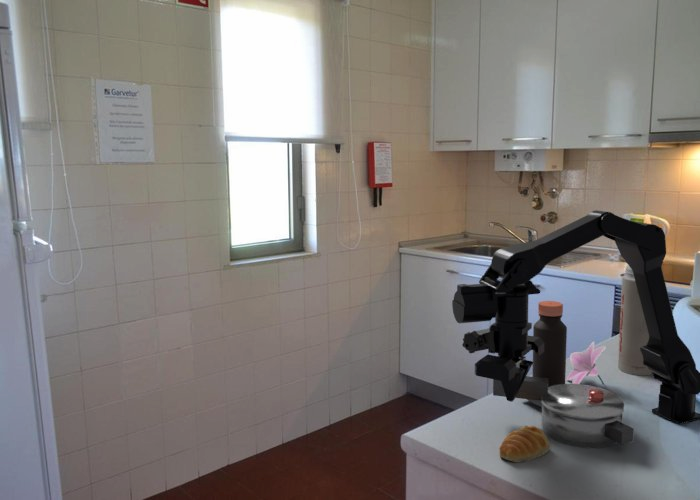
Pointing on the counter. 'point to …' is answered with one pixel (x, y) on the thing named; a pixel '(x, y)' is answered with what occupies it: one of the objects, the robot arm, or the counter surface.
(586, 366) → the lily
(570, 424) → the pot
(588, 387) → the lid
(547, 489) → the counter surface
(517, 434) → the pastry
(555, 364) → the vinegar
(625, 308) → the thermos bottle
